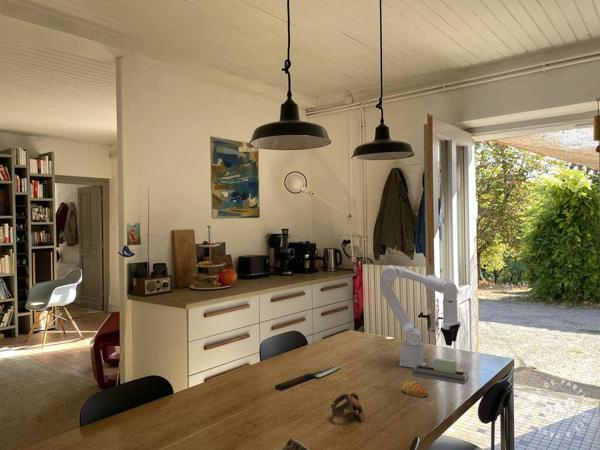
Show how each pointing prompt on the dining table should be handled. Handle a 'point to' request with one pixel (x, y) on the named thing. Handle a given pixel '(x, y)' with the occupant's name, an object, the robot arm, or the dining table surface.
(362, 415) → the brown openwork sculpture
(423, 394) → the pastry
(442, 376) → the door track
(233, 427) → the dining table surface
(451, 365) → the door panel
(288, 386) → the kitchen knife
